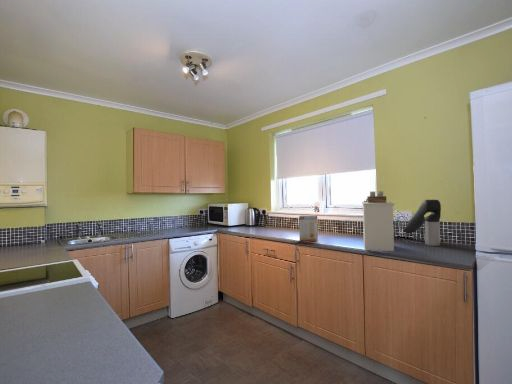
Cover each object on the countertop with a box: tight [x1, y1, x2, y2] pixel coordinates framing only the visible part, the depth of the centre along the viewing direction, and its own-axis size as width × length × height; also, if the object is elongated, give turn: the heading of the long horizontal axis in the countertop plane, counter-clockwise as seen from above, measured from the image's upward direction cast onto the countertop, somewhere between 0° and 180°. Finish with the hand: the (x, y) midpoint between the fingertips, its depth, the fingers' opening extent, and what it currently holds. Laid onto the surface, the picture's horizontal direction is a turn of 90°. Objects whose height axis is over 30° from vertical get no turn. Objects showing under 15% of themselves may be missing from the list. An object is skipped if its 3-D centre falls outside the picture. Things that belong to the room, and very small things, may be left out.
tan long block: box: [366, 190, 387, 203], centre depth 212 cm, size 34×12×8 cm, turn 161°
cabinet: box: [361, 201, 395, 252], centre depth 198 cm, size 24×19×32 cm
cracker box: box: [298, 214, 319, 242], centre depth 229 cm, size 14×6×21 cm, turn 58°
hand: (373, 199), depth 228 cm, fingers open, 8 cm apart
